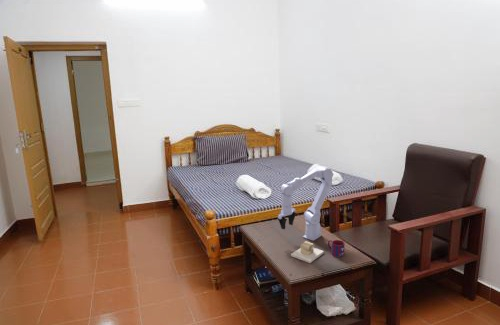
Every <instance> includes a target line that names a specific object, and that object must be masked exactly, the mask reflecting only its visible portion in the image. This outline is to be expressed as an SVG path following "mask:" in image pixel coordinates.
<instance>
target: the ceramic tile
mask: <svg viewBox="0 0 500 325" xmlns="http://www.w3.org/2000/svg"><path fill="white" fill-rule="evenodd" d="M324 253H325V251H324V250H321V249H320V248H316V247H314V251H313V253H311V254H310V255H309V256H308V255H305V254H303V253H301V247H300V248H298V249H296V250H295V251H294V252H291V253H290V256H291V257H292V258H295V259H297V260H301V261H303V262H306V263H308V264H311V263H312V262H314V261H315V260H316V259H319V257H320V256H322V255H323V254H324Z"/></svg>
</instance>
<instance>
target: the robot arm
mask: <svg viewBox="0 0 500 325" xmlns="http://www.w3.org/2000/svg"><path fill="white" fill-rule="evenodd" d="M333 177H334V172H333V170H332V169H331V168H329V167H326V166H324V165H322V164H320V165H318V166H316V167H314V168H313V169H312V170H311V171H308V173H306V174H305V175H304V176H301V177H295V178H293V180H291V181H289V182H287V183H283V184H282V185H281V186H280V188H279V191H280V193H281V210H280V213H279V214H278V215H277V220H278V222H279V224H280V228H281V229H282V230H285V229H286V223H287V220H288V225H291V226H293V224H294V221H295V218H296V216H297V212H296V208H294V207H292V206H293V203H292V202H293V199H292V198H293V197H292V195H294V193H295V191H297V190H299V189H301V188H302V187H304V184H305V183H307V182H309V181H312V180H313V179H315V178H317V179H318V178H319V179H320V181H321V184H320V186H319V189H318V191H317V193H316V195H315V197H314V199H313V202H312V204H311V206H309V207H307V210H305V211H304V213H303V218H304V220H305V234H304V235H302V238H305V239H307V240H310V241H316V240H317V239H319V238H320V237H321V236H322V234H321V227H322V226H321V223H320V220H321V215H322V214H321V209H322V207H323V204H324V202H325V200H326V197H327V196H328V193H329V191H330V189H331V186H332V185H333ZM286 216H287V217H288V218H285V217H286Z"/></svg>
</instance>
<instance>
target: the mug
mask: <svg viewBox="0 0 500 325" xmlns="http://www.w3.org/2000/svg"><path fill="white" fill-rule="evenodd" d="M330 242H331V244H330ZM345 245H346V244H345V242H344V241H343V240H341V239H335V240H331V239H330V240H328V242H327V246H328V248H329V249H330V250H331V255H332V256H333V257H334V258H342V257H344V256H345Z"/></svg>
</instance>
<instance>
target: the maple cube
mask: <svg viewBox="0 0 500 325" xmlns="http://www.w3.org/2000/svg"><path fill="white" fill-rule="evenodd" d="M314 246H315V245H314V243H312V242H310V241H307V240H305V241H304V242H301V244H300V248H301V253H303V254H305V255H308V256H309V255H310V254H311V253H313V251H314V248H315V247H314Z"/></svg>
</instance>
